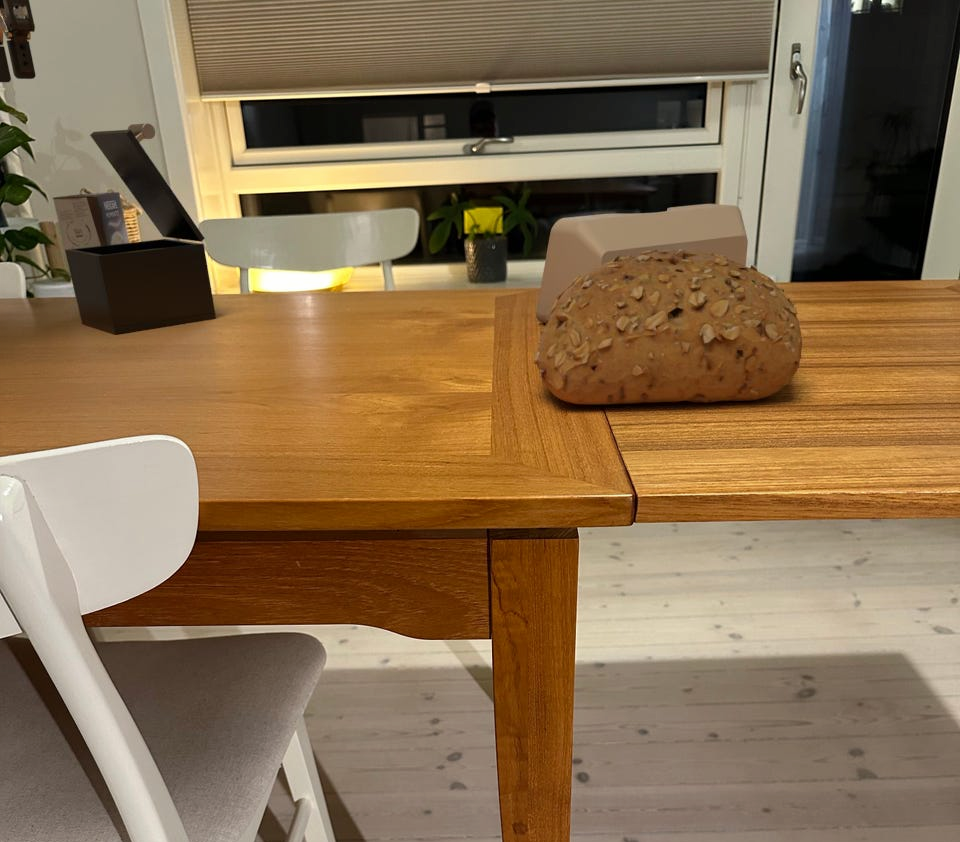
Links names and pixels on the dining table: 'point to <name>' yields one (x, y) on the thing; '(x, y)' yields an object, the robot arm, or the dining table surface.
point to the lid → (146, 180)
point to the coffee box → (91, 220)
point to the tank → (636, 241)
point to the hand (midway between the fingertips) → (13, 80)
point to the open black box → (141, 285)
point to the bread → (669, 332)
